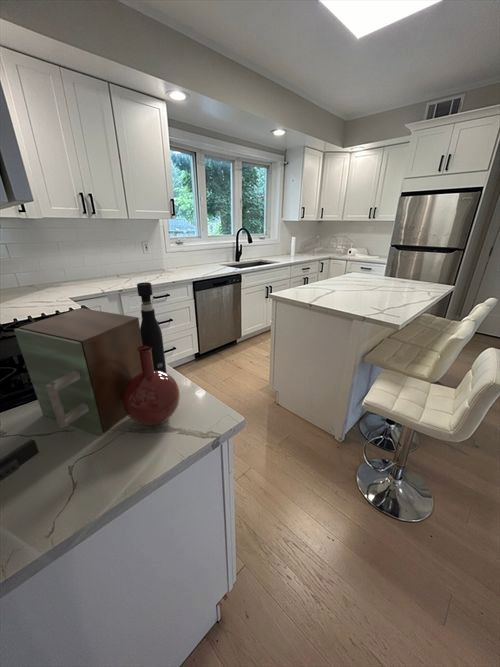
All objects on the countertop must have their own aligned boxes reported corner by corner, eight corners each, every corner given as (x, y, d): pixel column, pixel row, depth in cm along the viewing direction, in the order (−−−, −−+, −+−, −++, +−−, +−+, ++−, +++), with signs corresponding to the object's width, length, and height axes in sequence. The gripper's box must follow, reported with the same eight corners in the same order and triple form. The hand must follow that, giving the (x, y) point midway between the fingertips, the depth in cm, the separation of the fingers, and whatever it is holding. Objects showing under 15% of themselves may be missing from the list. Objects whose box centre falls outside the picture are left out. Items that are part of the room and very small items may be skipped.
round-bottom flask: (165, 442, 63) (154, 365, 55) (115, 432, 66) (98, 357, 58) (190, 407, 75) (184, 339, 67) (147, 399, 78) (137, 334, 70)
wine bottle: (151, 369, 93) (139, 280, 81) (170, 371, 92) (159, 281, 81) (142, 379, 87) (127, 285, 76) (161, 381, 86) (149, 286, 75)
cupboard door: (76, 456, 59) (45, 357, 50) (16, 430, 66) (-21, 339, 57) (103, 434, 65) (81, 342, 56) (46, 412, 72) (17, 328, 63)
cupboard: (104, 433, 65) (82, 341, 56) (47, 412, 72) (18, 327, 63) (150, 396, 79) (138, 317, 70) (98, 381, 86) (81, 307, 77)
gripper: (-183, 599, 25) (52, 437, 43) (-265, 499, 33) (-40, 400, 51) (-138, 641, 27) (64, 473, 46) (-225, 539, 36) (-25, 432, 54)
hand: (10, 434), depth 48 cm, fingers open, 13 cm apart
